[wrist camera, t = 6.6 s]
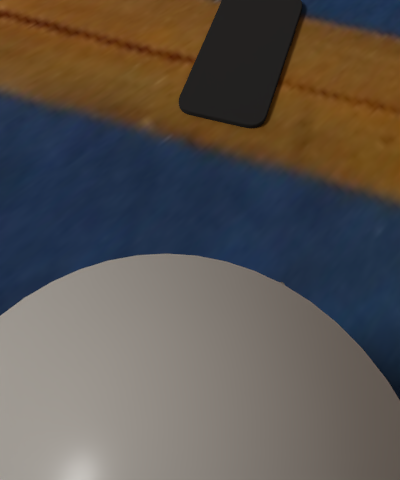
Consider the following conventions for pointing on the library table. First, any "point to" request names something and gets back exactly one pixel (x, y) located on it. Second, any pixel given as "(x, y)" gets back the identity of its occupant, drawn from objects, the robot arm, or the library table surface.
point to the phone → (241, 61)
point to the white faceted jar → (187, 380)
